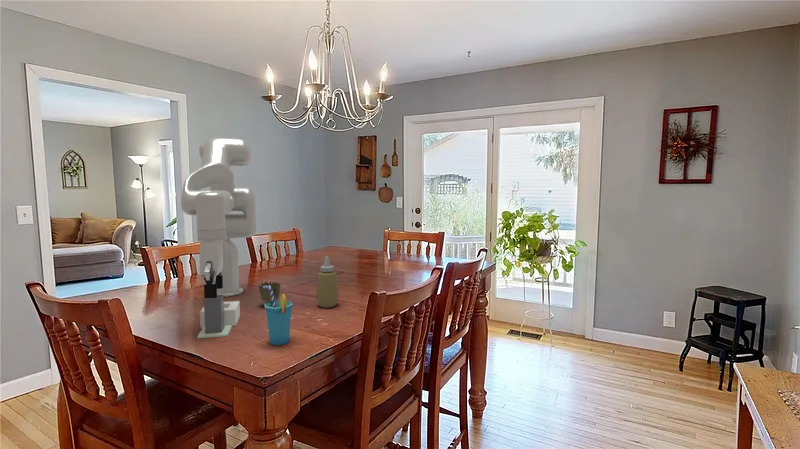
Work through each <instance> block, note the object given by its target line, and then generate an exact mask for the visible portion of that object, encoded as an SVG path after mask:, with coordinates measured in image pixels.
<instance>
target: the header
mask: <svg viewBox="0 0 800 449" xmlns="http://www.w3.org/2000/svg"><path fill="white" fill-rule="evenodd" d="M240 309H241V304H240V300H234V301H232V300H231V301H224V326H225V325H232V327H234V326H235V327H236V326H237V325H238V321H239V319H240V317H241V310H240ZM199 321H200V326H199V327H200V329H202V328H203V327H205V313H204V306H203V307H202V309H201V310H200V311H199Z"/></svg>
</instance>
